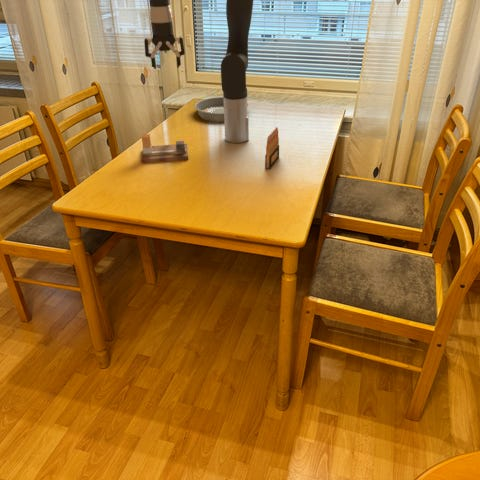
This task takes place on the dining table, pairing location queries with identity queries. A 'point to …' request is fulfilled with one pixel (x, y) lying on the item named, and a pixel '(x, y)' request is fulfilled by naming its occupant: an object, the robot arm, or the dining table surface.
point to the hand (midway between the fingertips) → (166, 67)
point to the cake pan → (208, 103)
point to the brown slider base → (166, 153)
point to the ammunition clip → (272, 149)
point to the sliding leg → (146, 143)
